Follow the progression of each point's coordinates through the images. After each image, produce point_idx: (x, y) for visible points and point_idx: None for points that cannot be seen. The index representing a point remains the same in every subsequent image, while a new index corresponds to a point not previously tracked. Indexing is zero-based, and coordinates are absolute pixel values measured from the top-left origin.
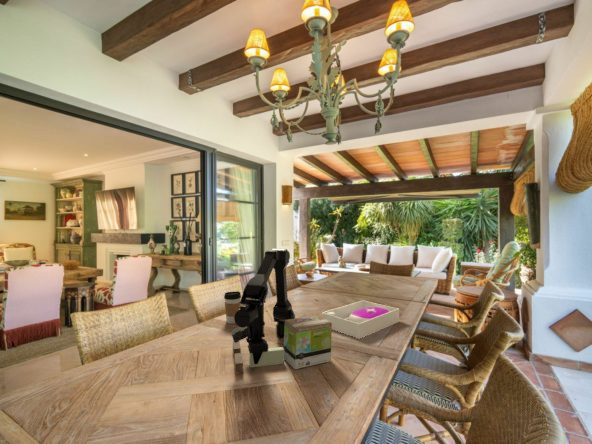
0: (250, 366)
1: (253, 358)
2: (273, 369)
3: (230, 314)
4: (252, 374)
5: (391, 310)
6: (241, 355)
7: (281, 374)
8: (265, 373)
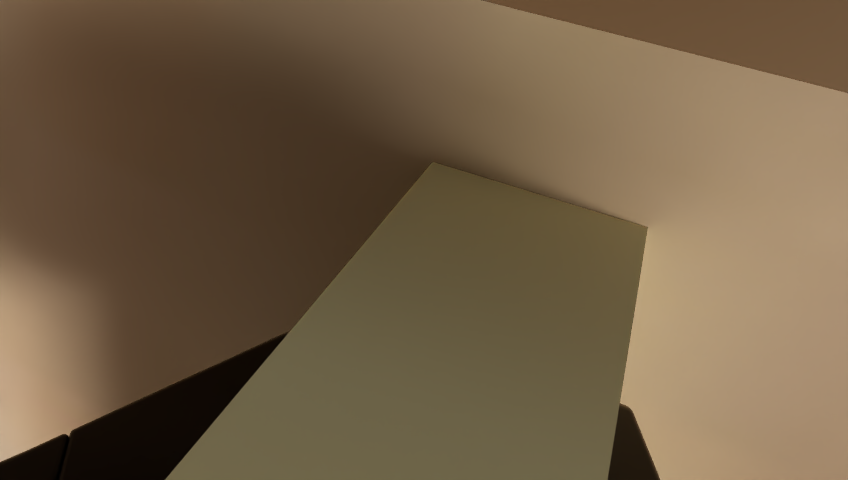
0: (424, 178)
1: None
2: None
3: None
4: (69, 67)
5: None
6: (713, 29)
7: None
8: (79, 310)
